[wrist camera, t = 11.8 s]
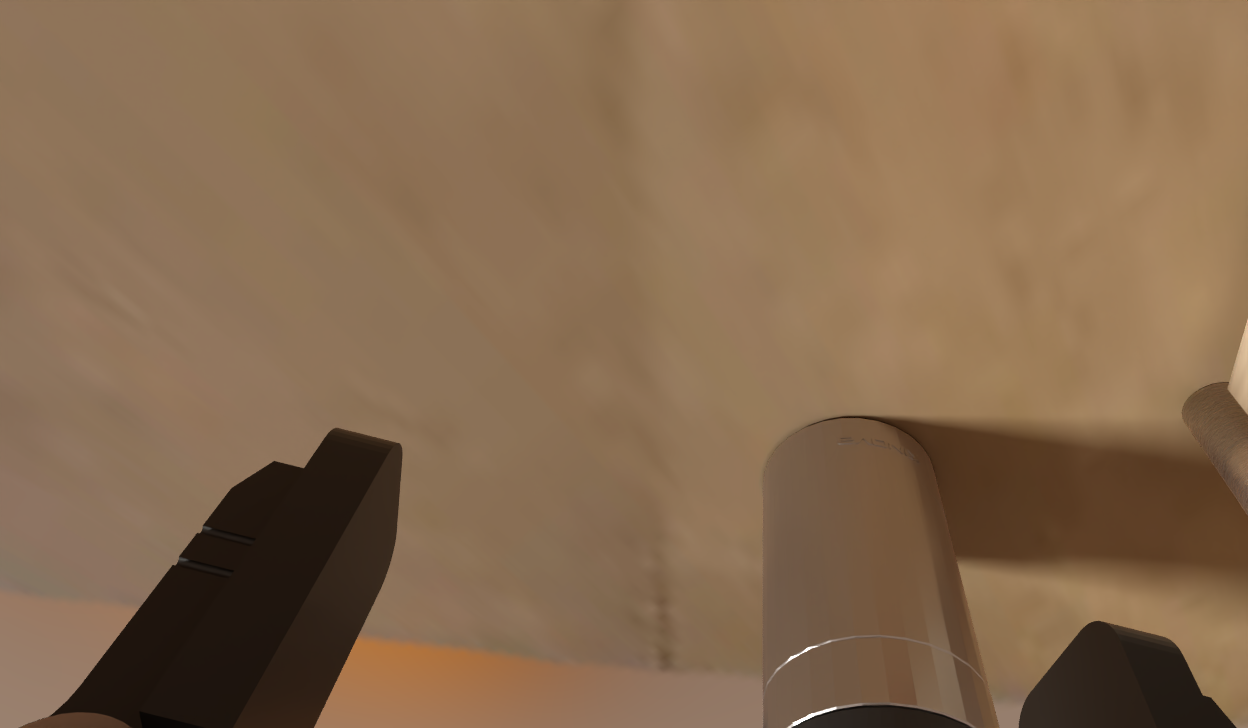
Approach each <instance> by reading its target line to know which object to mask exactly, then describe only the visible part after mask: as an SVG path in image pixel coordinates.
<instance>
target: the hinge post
mask: <svg viewBox="0 0 1248 728" xmlns="http://www.w3.org/2000/svg"><path fill="white" fill-rule="evenodd" d="M1228 385H1229V383H1216V384H1212V385H1208V386H1206V387H1203V388H1201V389H1199V390H1198V391H1196V392H1195V393H1194V394H1192V395H1191V396H1190V397H1189V398H1188V399H1187V401H1186V402H1185V404H1184V406H1183V409H1182V418H1183V420H1184V422H1185V424H1186V425H1187V427H1188V428H1189V430H1190V431H1191V433H1192V434H1193V436H1194V437H1195V439H1196V440H1197V441H1198V443H1199V444H1200V446H1201V447H1202V449H1203V450H1204V452H1205V453H1206V455H1207V456H1208V458H1209V459H1210V461H1211V462H1212V464H1213V465H1214V467H1215V468H1216V470H1217V471H1218V473H1219V474H1220V476H1221V477H1222V478H1223V480H1224V481H1225V483H1226V484H1227V486H1228V487H1229V489H1230V490H1231V492H1232V493H1233V495H1234V496H1235V498H1236V499H1237V501H1238V502H1239V504H1240V505H1241V507H1242V508H1243V510H1244V511H1245V513H1246V514H1247V515H1248V415H1247V413H1246V412H1245V411H1244V409H1243V408H1242V407H1241V406H1240V404H1239V403H1238V402H1237V401H1236V399H1235V398H1234V397H1233V395H1232V394H1231V393H1230V392H1229V390H1228V389H1227V388H1228Z"/></svg>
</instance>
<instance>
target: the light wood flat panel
mask: <svg viewBox="0 0 1248 728" xmlns="http://www.w3.org/2000/svg"><path fill="white" fill-rule="evenodd" d="M1227 389H1228V390H1229V392H1230V393H1231V394H1232V395H1233V397H1234V398H1235V399H1236V401H1237V402H1238V403H1239V404H1240V406H1241V407H1242V408H1243V409H1244V411H1245V412H1246V413H1247V415H1248V320H1247V324H1246V327H1245V330H1244V334H1243V337H1242V341H1241V344H1240V348H1239V351H1238V354H1237V358H1236V361H1235V365H1234V368H1233V371H1232V375H1231V378H1230V382H1229V385H1228V388H1227Z"/></svg>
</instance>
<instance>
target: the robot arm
mask: <svg viewBox="0 0 1248 728" xmlns="http://www.w3.org/2000/svg"><path fill="white" fill-rule="evenodd" d="M401 467H402V447H401V445H400V444H399V443H396V442H392V441H388V440H384V439H380V438H376V437H372V436H368V435H364V434H360V433H356V432H352V431H348V430H344V429H340V428H334V429H333V430H331V431H330V432H329V433H328V434H327V436H326V437H325V438H324V440H323V441H322V443H321V444H320V446H319V447H318V449H317V450H316V452H315V453H314V454H313V456H312V457H311V459H310V460H309V462H308V463H307V465H306V466H305V468H300V467H296V466H292V465H288V464H284V463H280V462H276V461H274V462H272V463H270V464H269V465H267V466H266V467H264V468H263V469H261V470H259V471H258V472H256V473H255V474H253V475H252V476H250V477H248V478H247V479H245V480H244V481H242V482H240V483H239V484H237V485H236V486H234V487H233V488H231V490H230V491H229V492H228V493H227V495H226V496H225V497H224V499H223V500H222V501H221V503H220V504H219V505H218V507H217V508H216V509H215V510H214V512H213V513H212V514H211V516H210V517H209V518H208V520H207V521H206V522H205V523H204V525H203V529H202V531H201V533H200V534H199V533H197V534H196V535H195V537H194V538H193V539H192V540H191V542H190V543H189V544H188V546H187V547H186V548H185V550H184V551H183V552H182V554H181V555H180V556H179V560H178V563H177V564H176V566H175V565H172V567H171V568H170V569H169V571H168V572H167V573H166V574H165V576H164V577H163V578H162V580H161V581H160V582H159V584H158V585H157V586H156V587H155V589H154V590H153V591H152V593H151V594H150V595H149V597H148V598H147V599H146V601H145V602H144V603H143V604H142V606H141V607H140V608H139V610H138V611H137V612H136V614H135V615H134V616H133V618H132V619H131V620H130V621H129V623H128V624H127V625H126V627H125V628H124V629H123V631H122V632H121V633H120V635H119V636H118V637H117V638H116V640H115V641H114V642H113V644H112V645H111V646H110V648H109V649H108V650H107V652H106V653H105V654H104V655H103V657H102V658H101V659H100V661H99V662H98V663H97V665H96V666H95V667H94V669H93V670H92V671H91V672H90V674H89V675H88V676H87V678H86V679H85V680H84V682H83V683H82V684H81V686H80V687H79V688H78V689H77V690H76V691H75V693H74V694H73V695H72V696H71V697H70V698H69V699H68V701H66V702H65V703H64V704H63V705H62V706H61V707H60V708H59V709H58V710H56V711H55V712H54V713H53V714H52V715H51V716H49V717H46V718H42V719H39V720H37V721H34V722H31V723H28V724H25V725H23V726H21V727H19V728H314V726H315V724H316V722H317V720H318V718H319V716H320V714H321V712H322V709H323V708H324V706H325V704H326V701H327V699H328V697H329V695H330V693H331V691H332V689H333V687H334V685H335V683H336V681H337V679H338V676H339V674H340V672H341V670H342V668H343V666H344V664H345V662H346V660H347V658H348V656H349V654H350V652H351V649H352V647H353V645H354V643H355V641H356V639H357V637H358V635H359V633H360V631H361V629H362V627H363V624H364V622H365V620H366V618H367V616H368V614H369V612H370V610H371V608H372V606H373V604H374V602H375V599H376V597H377V595H378V593H379V591H380V589H381V587H382V584H383V582H384V579H385V577H386V574H387V571H388V568H389V565H390V562H391V558H392V554H393V550H394V546H395V540H396V532H397V519H398V506H399V493H400V480H401ZM763 728H999V724H998V720H997V716H996V712H995V708H994V705H993V701H992V697H991V694H990V690H989V686H988V682H987V678H986V674H985V670H984V667H983V663H982V659H981V655H980V651H979V647H978V643H977V639H976V635H975V631H974V627H973V623H972V619H971V615H970V611H969V607H968V603H967V600H966V596H965V592H964V588H963V584H962V580H961V576H960V572H959V568H958V564H957V560H956V556H955V552H954V548H953V544H952V540H951V536H950V532H949V529H948V525H947V520H946V516H945V512H944V508H943V504H942V500H941V496H940V492H939V488H938V484H937V481H936V477H935V473H934V469H933V466H932V463H931V460H930V458H929V456H928V455H927V453H926V452H925V450H924V449H923V447H922V446H921V445H920V444H919V443H918V442H916V441H915V440H914V439H913V438H912V437H911V436H910V435H908V434H906V433H905V432H903V431H901V430H899V429H898V428H896V427H894V426H891V425H888V424H885V423H882V422H879V421H874V420H868V419H862V418H839V419H834V420H828V421H822V422H819V423H816V424H814V425H811V426H808V427H805V428H803V429H801V430H800V431H798V432H796V433H795V434H793V435H791V436H790V437H788V438H787V439H786V440H785V441H784V442H783V443H782V444H781V445H779V446H778V447H777V449H776V450H775V452H774V453H773V454H772V456H771V457H770V459H769V461H768V463H767V466H766V469H765V471H764V480H763ZM1019 728H1236V727H1235V725H1234V724H1233V723H1232V722H1231V721H1230V720H1229V718H1228V717H1227V716H1226V715H1225V714H1224V712H1223V711H1222V710H1221V709H1220V708H1219V707H1218V705H1217V704H1216V703H1215V702H1214V701H1213V700H1212V698H1210V697H1206V696H1203V695H1202V693H1201V691H1200V689H1199V687H1198V685H1197V683H1196V681H1195V679H1194V677H1193V675H1192V673H1191V671H1190V669H1189V666H1188V664H1187V662H1186V660H1185V658H1184V656H1183V654H1182V653H1181V651H1180V649H1179V648H1178V647H1177V646H1176V644H1175V643H1173V642H1172V641H1171V640H1169V639H1167V638H1165V637H1162V636H1158V635H1154V634H1150V633H1146V632H1142V631H1138V630H1134V629H1130V628H1126V627H1122V626H1118V625H1114V624H1110V623H1106V622H1101V621H1094V622H1091V623H1089V624H1088V625H1086V626H1085V627H1084V628H1083V629H1082V630H1081V631H1080V632H1079V633H1078V635H1077V636H1076V637H1075V638H1074V640H1073V641H1072V642H1071V643H1070V645H1069V646H1068V647H1067V648H1066V649H1065V651H1064V652H1063V653H1062V654H1061V656H1060V657H1059V658H1058V659H1057V660H1056V662H1055V663H1054V664H1053V665H1052V667H1051V668H1050V669H1049V670H1048V672H1047V673H1046V674H1045V675H1044V676H1043V678H1042V679H1041V680H1040V681H1039V683H1038V684H1037V685H1036V686H1035V688H1034V689H1033V690H1032V691H1031V692H1030V694H1029V695H1028V697H1027V698H1026V700H1025V702H1024V705H1023V708H1022V711H1021V715H1020V721H1019Z"/></svg>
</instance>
